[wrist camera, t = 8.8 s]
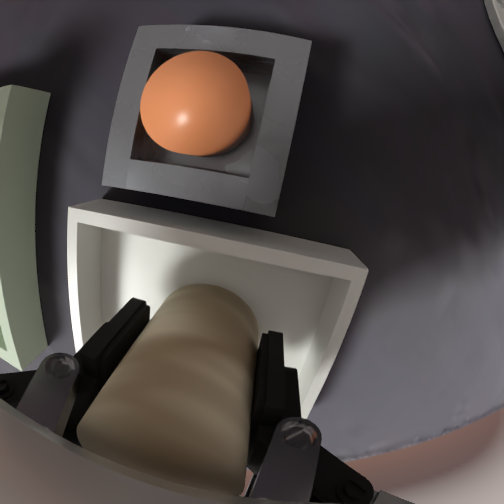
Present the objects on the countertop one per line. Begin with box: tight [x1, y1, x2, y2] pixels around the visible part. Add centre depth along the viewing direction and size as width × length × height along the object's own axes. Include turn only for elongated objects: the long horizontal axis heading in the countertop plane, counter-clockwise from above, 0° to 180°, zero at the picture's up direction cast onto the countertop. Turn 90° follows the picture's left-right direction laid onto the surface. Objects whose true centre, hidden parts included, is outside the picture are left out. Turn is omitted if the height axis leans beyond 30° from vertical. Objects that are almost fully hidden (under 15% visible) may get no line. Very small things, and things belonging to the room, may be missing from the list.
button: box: [140, 51, 253, 157], centre depth 8 cm, size 3×3×3 cm
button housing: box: [102, 25, 312, 217], centre depth 9 cm, size 6×6×2 cm
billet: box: [77, 284, 259, 496], centre depth 9 cm, size 4×4×7 cm
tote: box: [67, 199, 369, 419], centre depth 12 cm, size 11×10×2 cm
